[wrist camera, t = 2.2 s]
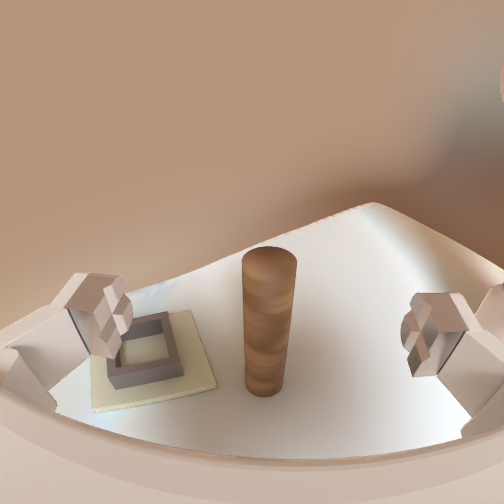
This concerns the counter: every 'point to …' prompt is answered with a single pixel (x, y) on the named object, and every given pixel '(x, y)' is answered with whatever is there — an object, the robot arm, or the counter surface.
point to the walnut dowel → (267, 316)
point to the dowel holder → (152, 364)
